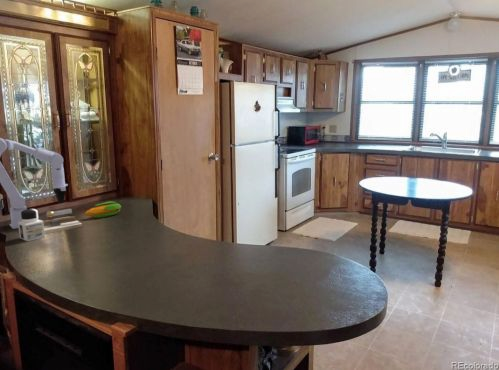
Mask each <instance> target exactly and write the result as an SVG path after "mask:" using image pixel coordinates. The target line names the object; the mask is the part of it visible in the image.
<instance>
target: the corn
mask: <svg viewBox="0 0 499 370" xmlns="http://www.w3.org/2000/svg"><path fill="white" fill-rule="evenodd" d="M94 206H95V207H92V208H89V209H88V210H86V211H85V213H84V215H86V216H88V217H93V219H102V218H106V217H112V216H115V215H117V214H118V213H119V212H120V211H121V209H122V205H121V204H120V203H118V202H116V201H105V202H101V203H97V204H95V205H94Z"/></svg>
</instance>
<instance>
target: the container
mask: <svg viewBox="0 0 499 370" xmlns="http://www.w3.org/2000/svg"><path fill="white" fill-rule="evenodd" d="M21 217H22V221H20V222H18V227H19V228H18V233H19V239H21V240H24V241H26V242H30V241H31V242H32V241H35V240H38V239H43V238H45V237H46V234H45V233H44V224H43V221H44V220H42V219H39V211H38V210H37V209H35V208H27V210H23V211H22V212H21Z"/></svg>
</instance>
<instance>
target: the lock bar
mask: <svg viewBox="0 0 499 370" xmlns="http://www.w3.org/2000/svg"><path fill="white" fill-rule="evenodd" d="M68 214H69V215H71V214H73V209H72V208H67V209H61V210H50V211H48V210H47V211H46V218H48V217H53V218H54V217H57V216H64V215H68Z"/></svg>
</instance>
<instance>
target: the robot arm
mask: <svg viewBox="0 0 499 370" xmlns="http://www.w3.org/2000/svg"><path fill="white" fill-rule="evenodd" d="M7 149H8V151H13V150H16V151H20V152H23V153H26V154H30V155H33V158H35V159H37V160H40V161H43V162H45V163H51V164H50V165H51V168H50V169H51V170H50V171H51V179H52V181H51V182H52V188H53V189H52V192H53V193H54V195H55V197H56V200H57V203H59V204H62V203H64V202H65V197H66V193H67V191H68V189H66V187H68V185H69V184H68V183H66V181H65V180H66V178H65V169H64V157H63V156H62V155H61V154H60V153H58V152H55V151H54V150H53V151H50V150H48V149H45V148H44V147H43V146H42V147H39V146H38V147H37V148H34V147H31V146H29V145H26V144H24V143H21V142H18V141H15V140H11V139H7V138H6V139H4V138H2V137H0V158H1V156H2V154H3V153H4V152H5V151H6V150H7ZM0 185H1V186H2V188H3V190H4V191H5V193H6V195H7V197H8V200H9V204H10V205H9V206H10V207H9V215H10V222H11V223H9V226H10V227H11V228H12V229H13V230H14V229H19V227H18V222H20V221H22V217H21V212H22V211H23V210H27V209H28V207H27V206H26V200H25V197H24V196H23V195H22V194H21V193H20V192H19V191H18V189H17V188H16V186H15V184H14V182H13V181H12V180H11V177H10V176H9V174H8V172H7V171H6V168H5V167H4V165H3V163H2V162H1V161H0Z"/></svg>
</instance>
